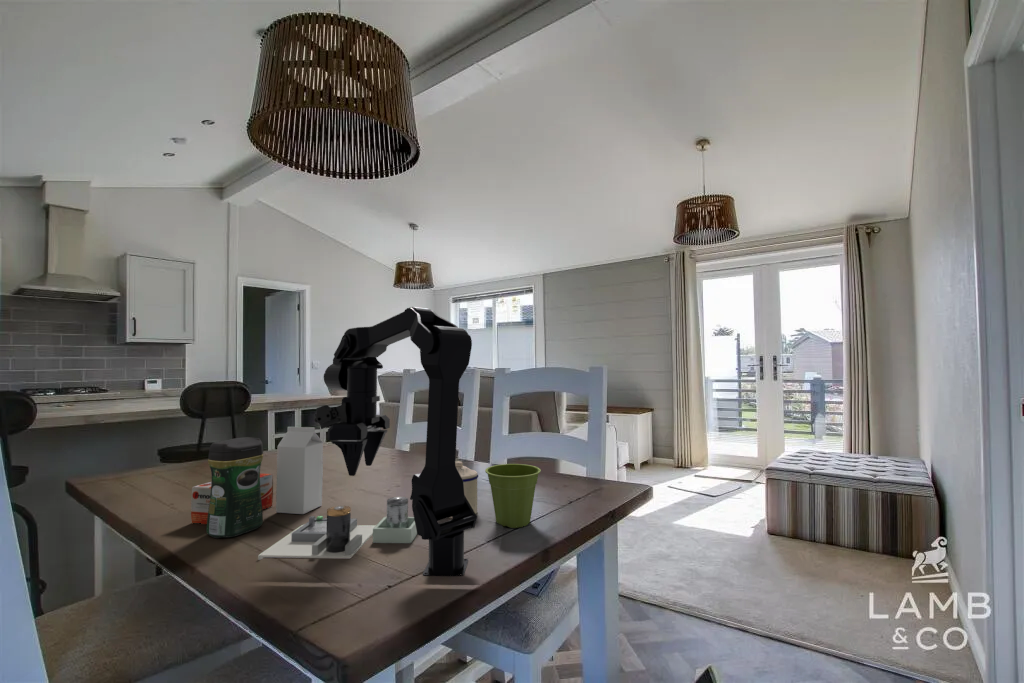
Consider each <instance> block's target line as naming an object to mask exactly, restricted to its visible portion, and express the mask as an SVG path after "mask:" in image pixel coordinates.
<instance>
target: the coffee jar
mask: <svg viewBox="0 0 1024 683" xmlns="http://www.w3.org/2000/svg"><path fill="white" fill-rule="evenodd" d="M208 450H209V451H208V460H207V463H208V466H209V468H210V472H211V481H210V482H211V494H210V503H209V510H208V517H207V525H206V534H207V535H209V536H210V537H212V538H215V539H220V538H233V537H237V536H240V535H243V534H246V533H249V532H251V531H254V530H257V529H258V528H260V527H262V524H263V523H264V520H263V519H264V518H263V515H264V514H263V510H262V501H261V489H260V473H261V466H262V461H263V458H264V449H263V442H262V440H261V438H259V437H249V436H247V437H244V436H243V437H236V438H231V439H225V440H220V441H215V442H212V443H211V445H210V446H209V449H208Z"/></svg>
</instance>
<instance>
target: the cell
mask: <svg viewBox="0 0 1024 683" xmlns="http://www.w3.org/2000/svg"><path fill="white" fill-rule="evenodd" d="M351 509H352V507H351V506H349V505H335V506H330V507H328V508H327V509H326V518H327V532H326V551H327V552H330V553H338V552H343V551H345V545H346V544H347V543H349V542H350V521H351V516H352V514H351V513H352V512H351Z"/></svg>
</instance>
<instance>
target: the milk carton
mask: <svg viewBox="0 0 1024 683" xmlns="http://www.w3.org/2000/svg"><path fill="white" fill-rule="evenodd" d="M286 431H287V432H286V433H285V434H284V436H283V437H282V439H281V440H280V441H279V443H278V445H276V446H277V447H276V448H277V450H276V452H277V453H276V489H275V490H276V491H275V492H276V495H275V499H276V500H275V512H276V513H280V514H281V513H282V514H296V515H305V514H307V513H309V512H311V511H312V510H315V509H317V508H319V507H321V506H322V505H323V472H324V471H323V466H324V465H323V464H324V461H323V460H324V441H323V440H322V438H320V437H319V435H318V434H317V433H316V427H314V426H313V427H310V426H302V427H301V426H287V430H286Z"/></svg>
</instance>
